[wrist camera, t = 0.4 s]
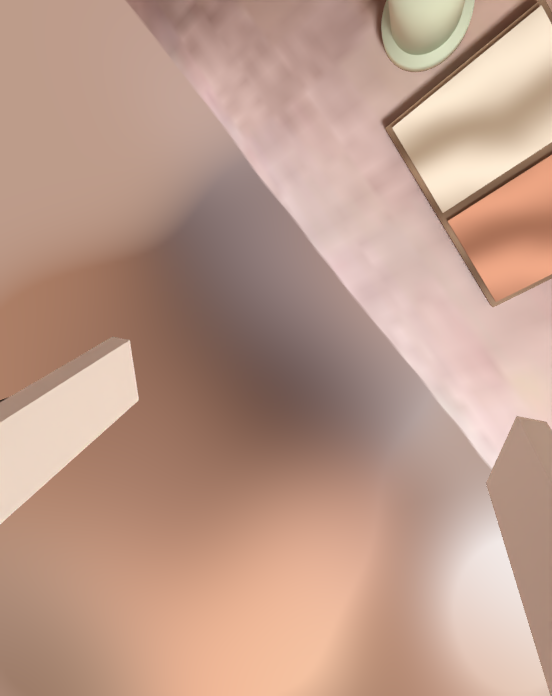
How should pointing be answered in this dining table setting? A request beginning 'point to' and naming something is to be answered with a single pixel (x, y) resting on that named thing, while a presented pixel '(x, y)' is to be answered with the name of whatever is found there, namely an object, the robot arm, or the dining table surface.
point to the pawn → (423, 31)
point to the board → (491, 156)
